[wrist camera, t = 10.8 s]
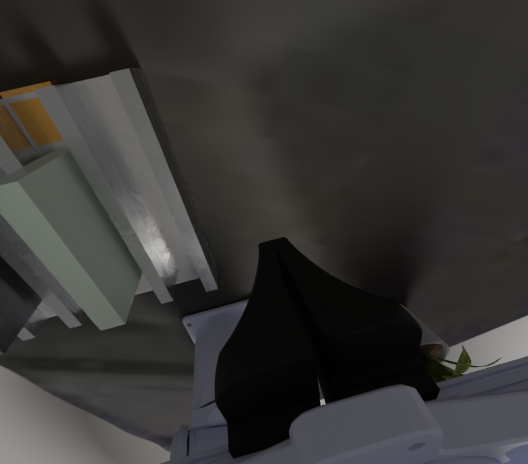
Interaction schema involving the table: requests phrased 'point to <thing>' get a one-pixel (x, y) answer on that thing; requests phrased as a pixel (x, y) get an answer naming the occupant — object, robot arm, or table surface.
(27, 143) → the rack
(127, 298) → the panel
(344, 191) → the table surface
